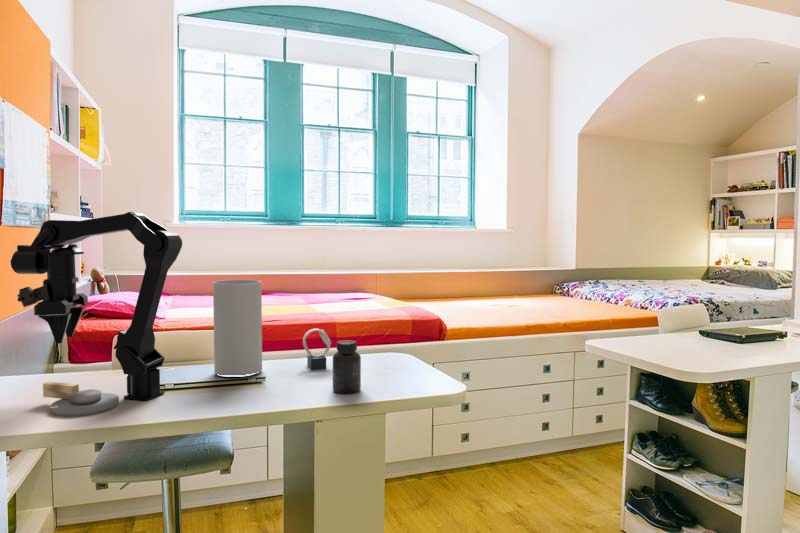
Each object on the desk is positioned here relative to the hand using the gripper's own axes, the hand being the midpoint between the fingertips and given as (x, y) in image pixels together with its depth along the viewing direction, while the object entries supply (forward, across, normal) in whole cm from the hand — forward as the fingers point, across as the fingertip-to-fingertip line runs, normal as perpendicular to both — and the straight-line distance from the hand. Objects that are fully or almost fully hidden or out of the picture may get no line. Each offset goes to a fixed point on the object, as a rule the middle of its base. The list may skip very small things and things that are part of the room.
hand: (64, 340), depth 131 cm
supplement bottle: (+14, +13, +65) cm, 67 cm away
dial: (+12, +10, +4) cm, 16 cm away
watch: (+14, -12, +60) cm, 63 cm away
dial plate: (+13, +12, +7) cm, 19 cm away
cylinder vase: (+14, -10, +39) cm, 43 cm away
